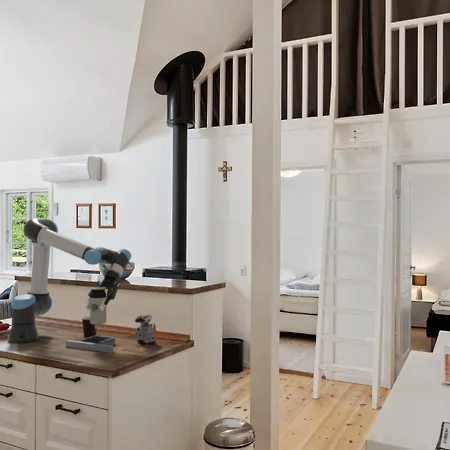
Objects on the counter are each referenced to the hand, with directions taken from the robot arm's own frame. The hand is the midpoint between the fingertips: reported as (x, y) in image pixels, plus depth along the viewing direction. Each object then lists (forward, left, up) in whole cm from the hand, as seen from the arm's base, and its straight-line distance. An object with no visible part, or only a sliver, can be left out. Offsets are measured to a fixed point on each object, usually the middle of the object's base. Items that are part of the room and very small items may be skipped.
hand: (93, 309), depth 249 cm
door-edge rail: (+1, -4, -19) cm, 20 cm away
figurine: (+19, +17, -19) cm, 32 cm away
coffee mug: (-18, +21, -19) cm, 34 cm away
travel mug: (0, +3, -8) cm, 9 cm away
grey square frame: (0, +3, -19) cm, 19 cm away
